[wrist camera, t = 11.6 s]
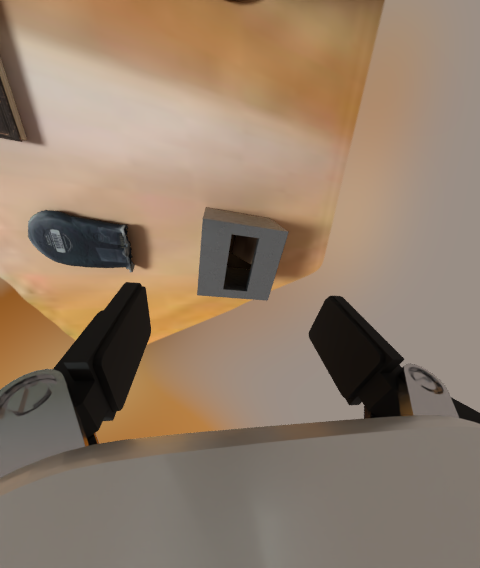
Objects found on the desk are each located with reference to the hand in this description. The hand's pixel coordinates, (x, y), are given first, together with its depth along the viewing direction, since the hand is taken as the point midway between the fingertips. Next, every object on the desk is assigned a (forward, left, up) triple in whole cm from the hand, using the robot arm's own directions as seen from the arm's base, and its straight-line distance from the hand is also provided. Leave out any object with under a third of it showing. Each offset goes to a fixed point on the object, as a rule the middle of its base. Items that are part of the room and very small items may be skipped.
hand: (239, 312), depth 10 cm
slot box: (+5, +3, -28) cm, 28 cm away
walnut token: (+4, +4, -27) cm, 27 cm away
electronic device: (+8, -23, -28) cm, 37 cm away
